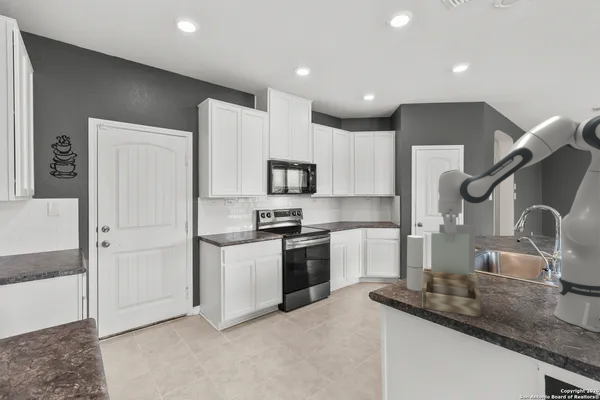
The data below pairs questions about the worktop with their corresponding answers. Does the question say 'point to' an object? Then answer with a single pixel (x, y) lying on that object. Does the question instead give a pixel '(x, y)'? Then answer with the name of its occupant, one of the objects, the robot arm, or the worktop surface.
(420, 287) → the cylindrical container
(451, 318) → the worktop surface
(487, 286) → the worktop surface
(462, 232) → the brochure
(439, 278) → the offcut boards
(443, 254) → the grey green flat block
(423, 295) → the box
